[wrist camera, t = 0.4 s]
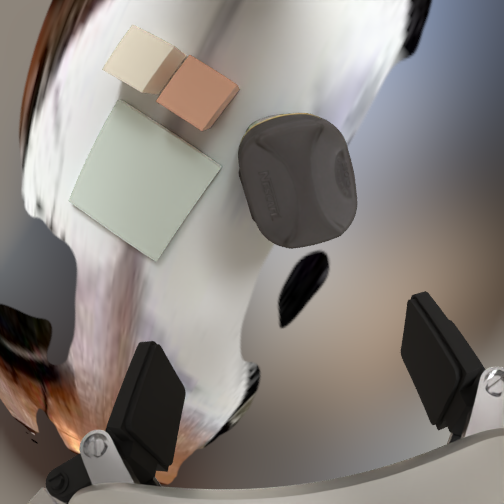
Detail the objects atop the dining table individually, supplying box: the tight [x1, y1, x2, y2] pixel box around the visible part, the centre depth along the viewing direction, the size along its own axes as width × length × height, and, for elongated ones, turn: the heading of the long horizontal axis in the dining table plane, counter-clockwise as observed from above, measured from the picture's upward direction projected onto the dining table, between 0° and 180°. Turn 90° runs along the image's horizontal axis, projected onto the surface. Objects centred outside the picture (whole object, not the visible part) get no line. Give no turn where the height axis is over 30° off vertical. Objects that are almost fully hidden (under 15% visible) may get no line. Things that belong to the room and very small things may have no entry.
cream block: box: [102, 25, 186, 95], centre depth 27 cm, size 6×6×6 cm
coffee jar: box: [238, 113, 357, 248], centre depth 26 cm, size 10×8×19 cm
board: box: [69, 100, 222, 262], centre depth 36 cm, size 16×16×1 cm
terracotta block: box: [156, 55, 240, 131], centre depth 29 cm, size 6×6×6 cm
